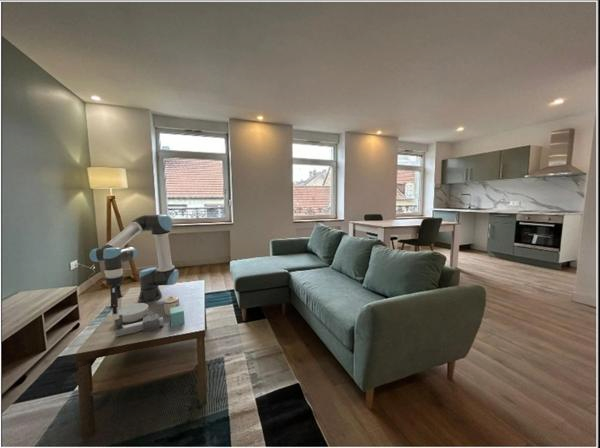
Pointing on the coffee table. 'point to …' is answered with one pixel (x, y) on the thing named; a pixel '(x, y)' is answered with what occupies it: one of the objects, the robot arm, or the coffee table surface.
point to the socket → (177, 316)
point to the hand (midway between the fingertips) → (117, 314)
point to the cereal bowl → (133, 312)
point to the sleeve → (151, 323)
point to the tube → (129, 326)
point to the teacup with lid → (170, 304)
